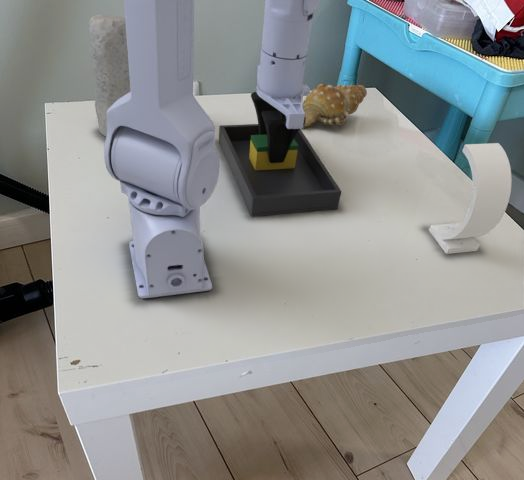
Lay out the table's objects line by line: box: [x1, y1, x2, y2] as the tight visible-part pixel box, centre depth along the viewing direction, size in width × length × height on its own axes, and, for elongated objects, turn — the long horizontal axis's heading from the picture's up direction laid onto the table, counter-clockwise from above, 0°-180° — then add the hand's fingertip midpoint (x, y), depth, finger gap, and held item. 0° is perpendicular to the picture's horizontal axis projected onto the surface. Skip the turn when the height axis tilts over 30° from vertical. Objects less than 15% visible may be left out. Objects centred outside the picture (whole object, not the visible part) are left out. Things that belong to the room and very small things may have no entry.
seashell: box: [303, 83, 368, 128], centre depth 83 cm, size 9×8×10 cm
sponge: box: [249, 135, 298, 171], centre depth 72 cm, size 6×4×4 cm, turn 106°
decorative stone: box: [88, 14, 131, 138], centre depth 71 cm, size 11×6×15 cm, turn 131°
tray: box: [218, 123, 343, 217], centre depth 71 cm, size 19×12×3 cm, turn 16°
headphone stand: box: [428, 142, 512, 255], centre depth 61 cm, size 5×6×12 cm
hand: (272, 154), depth 72 cm, fingers closed on sponge, 3 cm apart
